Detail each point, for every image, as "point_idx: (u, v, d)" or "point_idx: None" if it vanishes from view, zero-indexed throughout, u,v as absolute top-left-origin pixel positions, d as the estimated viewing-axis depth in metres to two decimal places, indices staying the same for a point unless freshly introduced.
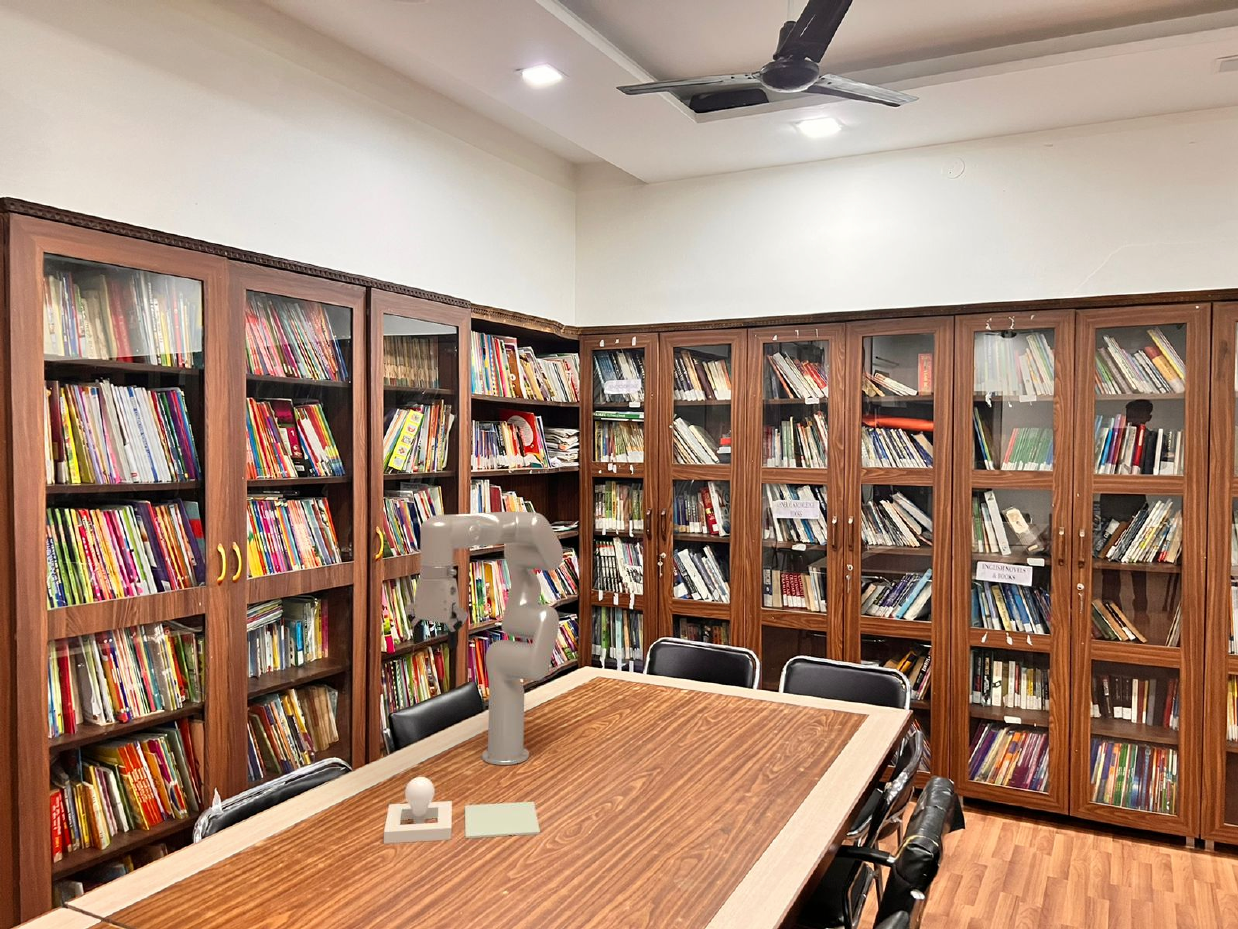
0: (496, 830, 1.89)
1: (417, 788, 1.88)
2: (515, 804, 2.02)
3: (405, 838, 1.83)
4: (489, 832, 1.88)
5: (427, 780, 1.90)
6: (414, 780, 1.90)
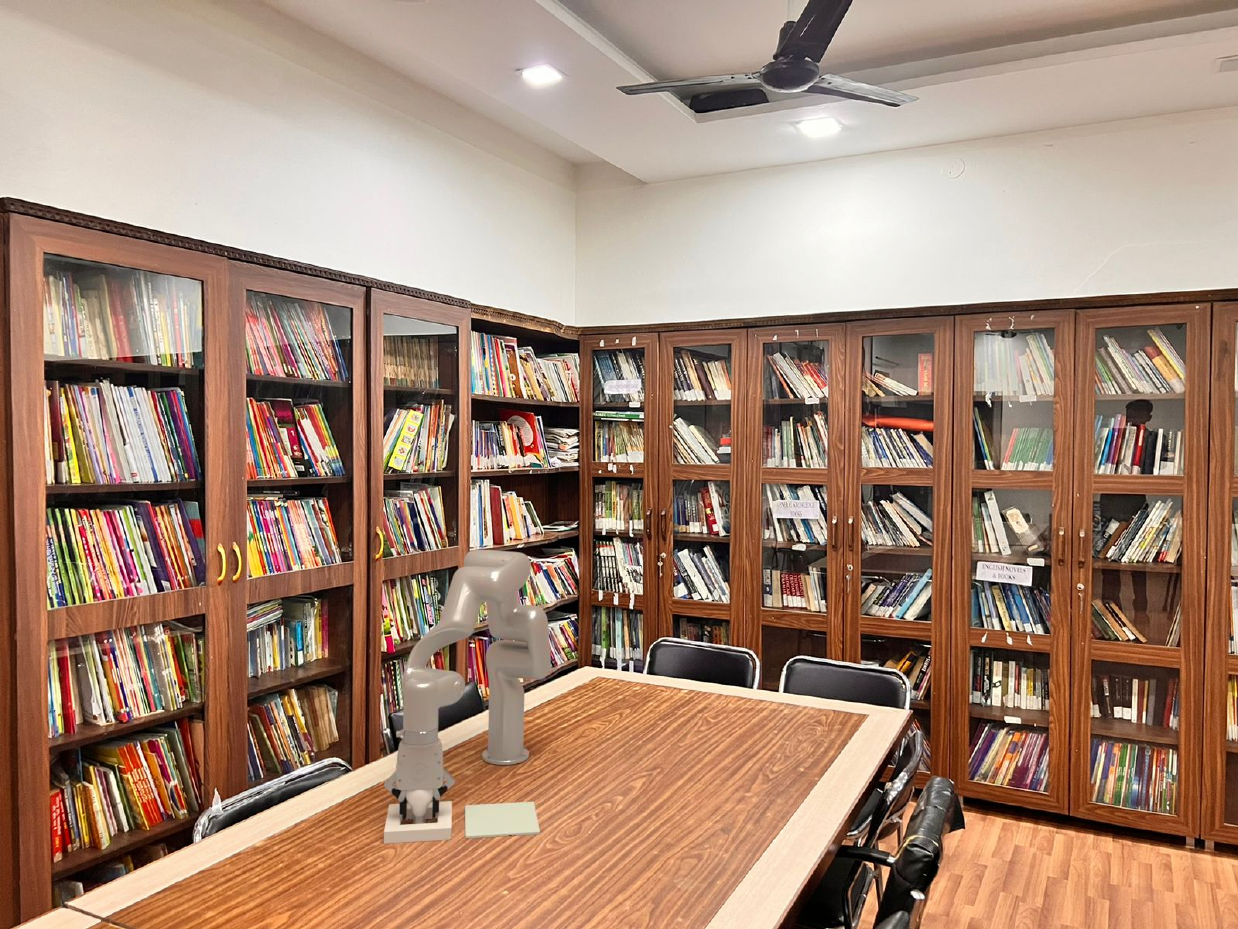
0: (496, 830, 1.89)
1: None
2: (515, 804, 2.02)
3: (405, 838, 1.83)
4: (489, 832, 1.88)
5: None
6: None
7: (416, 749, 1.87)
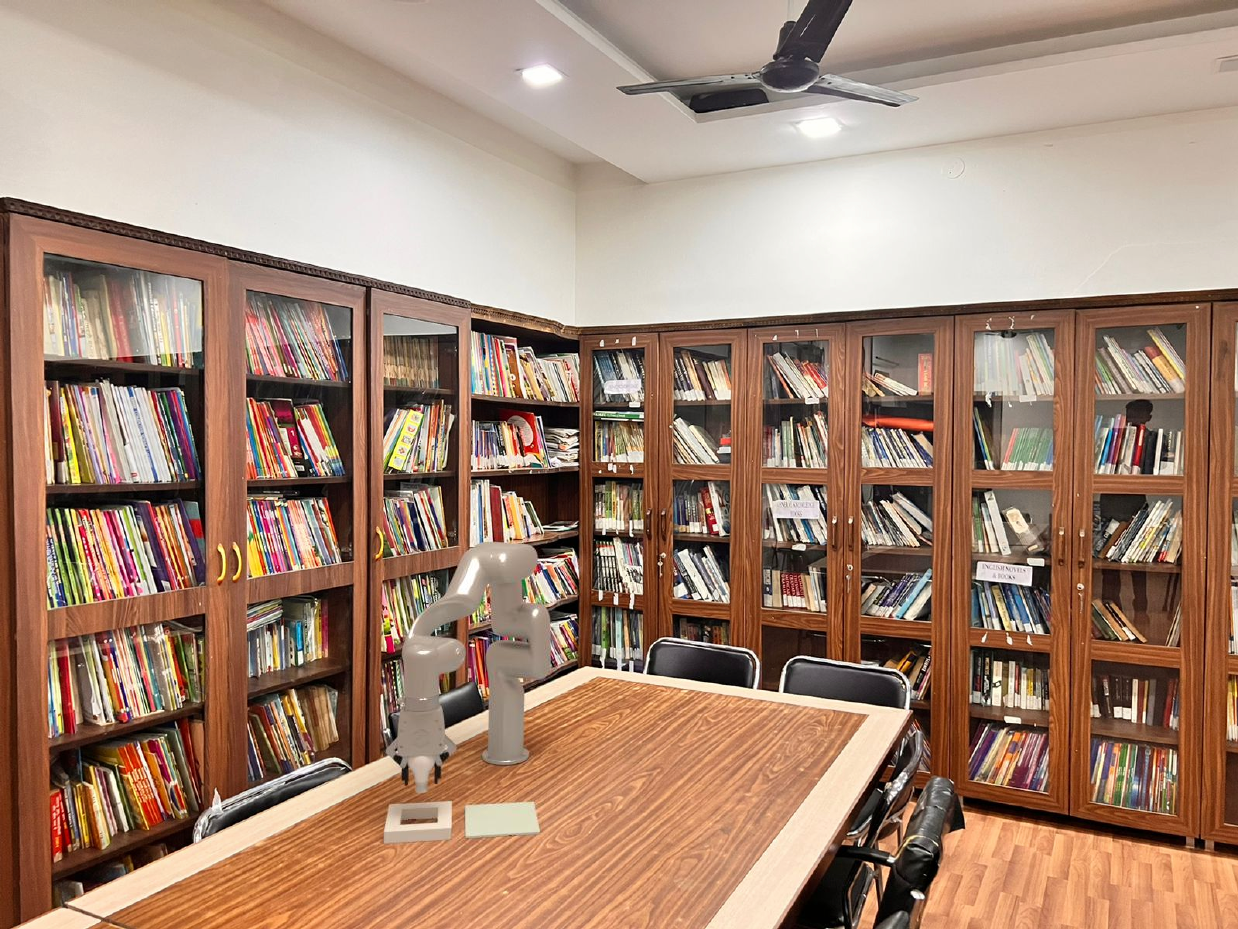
0: (496, 830, 1.89)
1: None
2: (515, 804, 2.02)
3: (405, 838, 1.83)
4: (489, 832, 1.88)
5: None
6: None
7: (417, 716, 1.87)
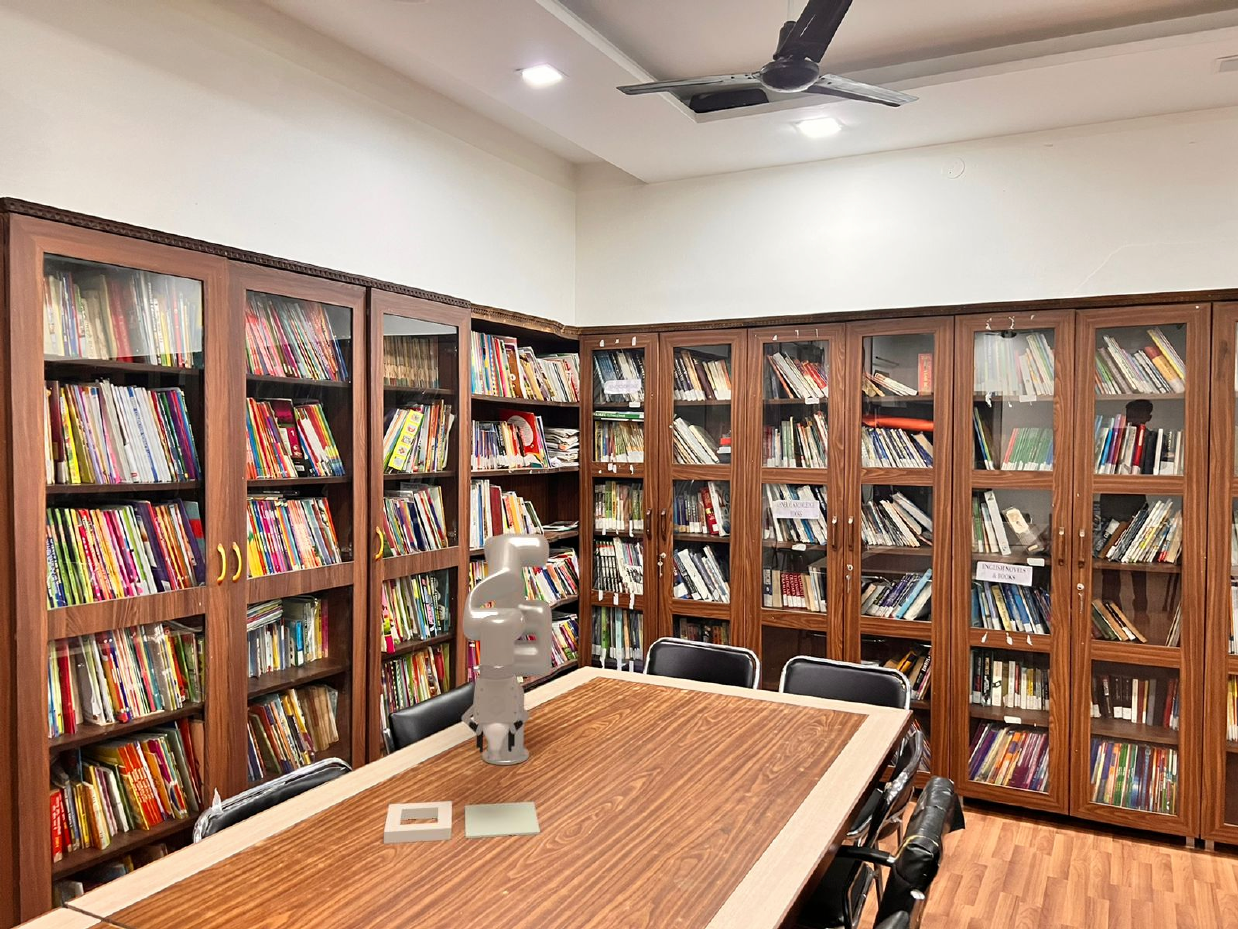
0: (496, 830, 1.89)
1: None
2: (515, 804, 2.02)
3: (405, 838, 1.83)
4: (489, 832, 1.88)
5: None
6: None
7: (493, 683, 1.91)
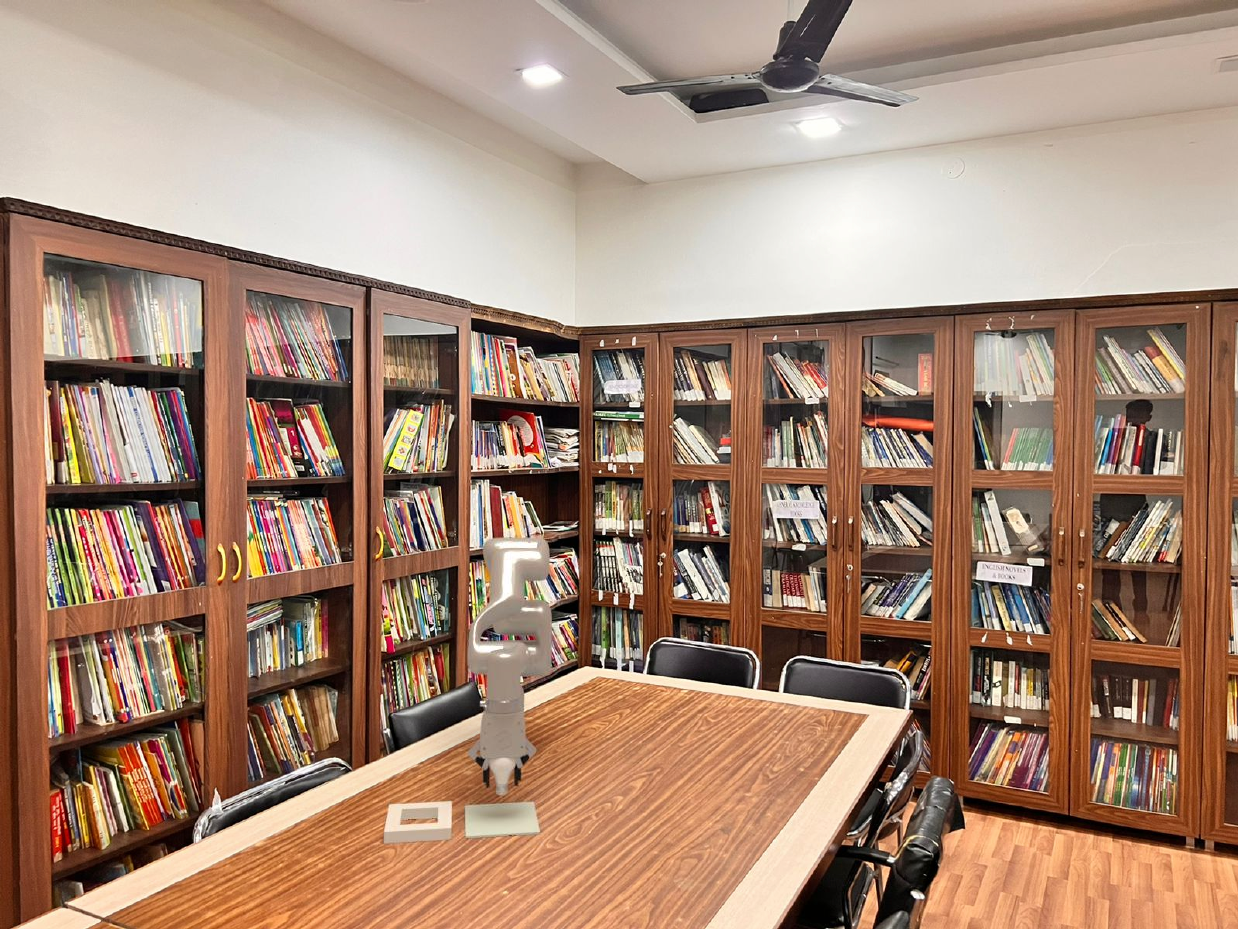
0: (496, 830, 1.89)
1: None
2: (515, 804, 2.02)
3: (405, 838, 1.83)
4: (489, 832, 1.88)
5: None
6: None
7: (500, 718, 1.92)
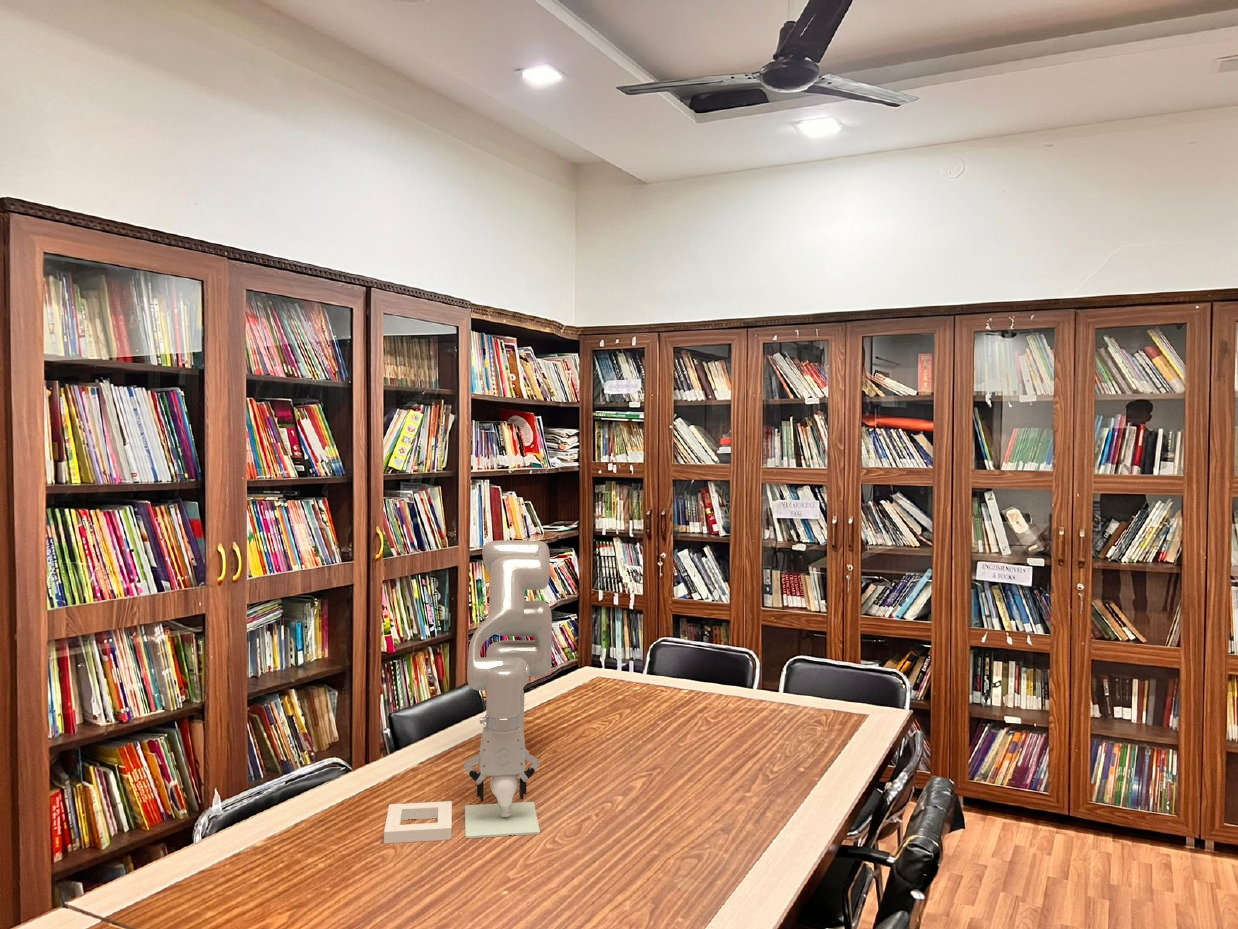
0: (496, 830, 1.89)
1: (502, 779, 1.92)
2: (515, 804, 2.02)
3: (405, 838, 1.83)
4: (489, 832, 1.88)
5: None
6: None
7: (500, 735, 1.92)
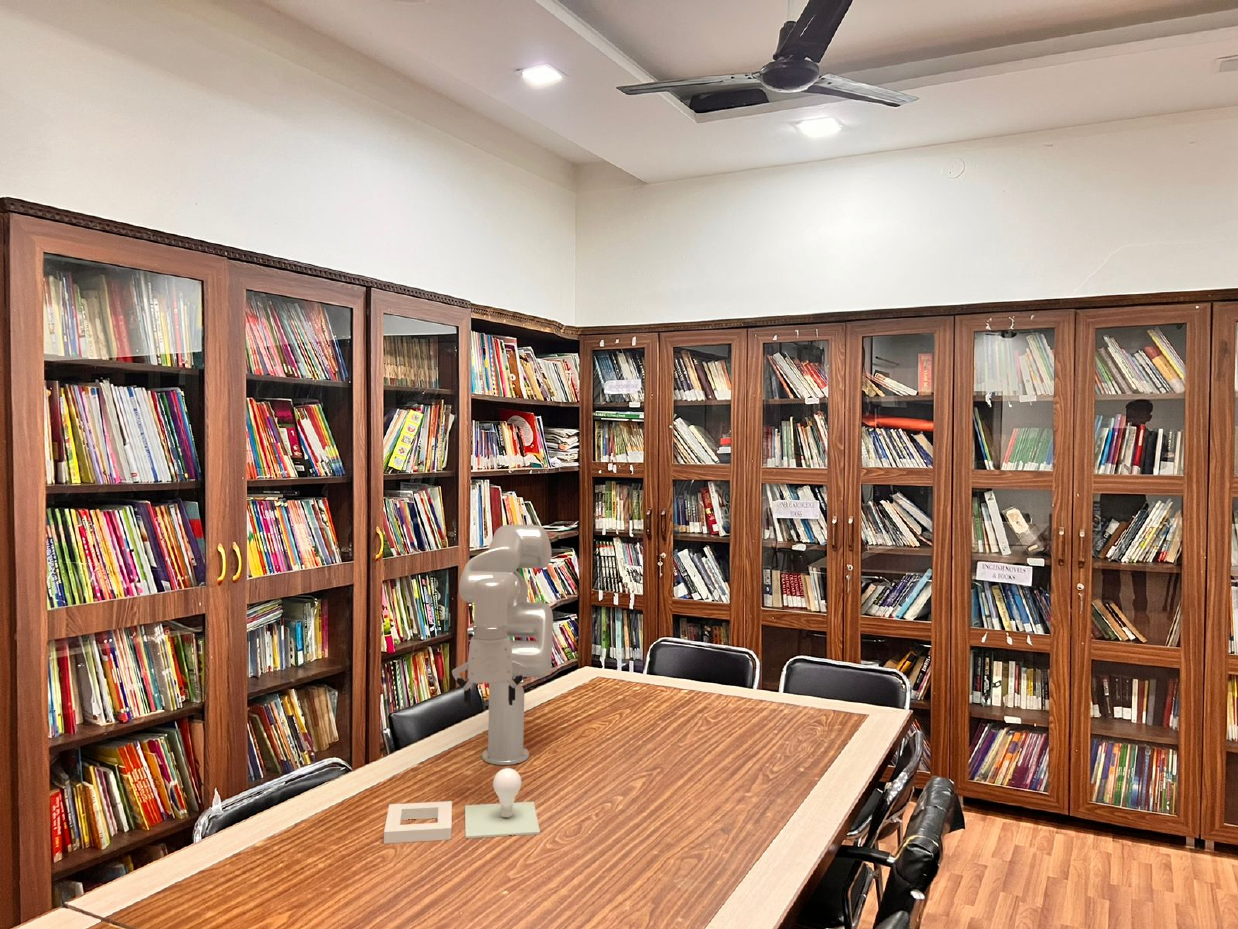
0: (496, 830, 1.89)
1: (505, 779, 1.93)
2: (515, 804, 2.02)
3: (405, 838, 1.83)
4: (489, 832, 1.88)
5: (514, 771, 1.95)
6: (502, 771, 1.94)
7: (487, 644, 1.97)
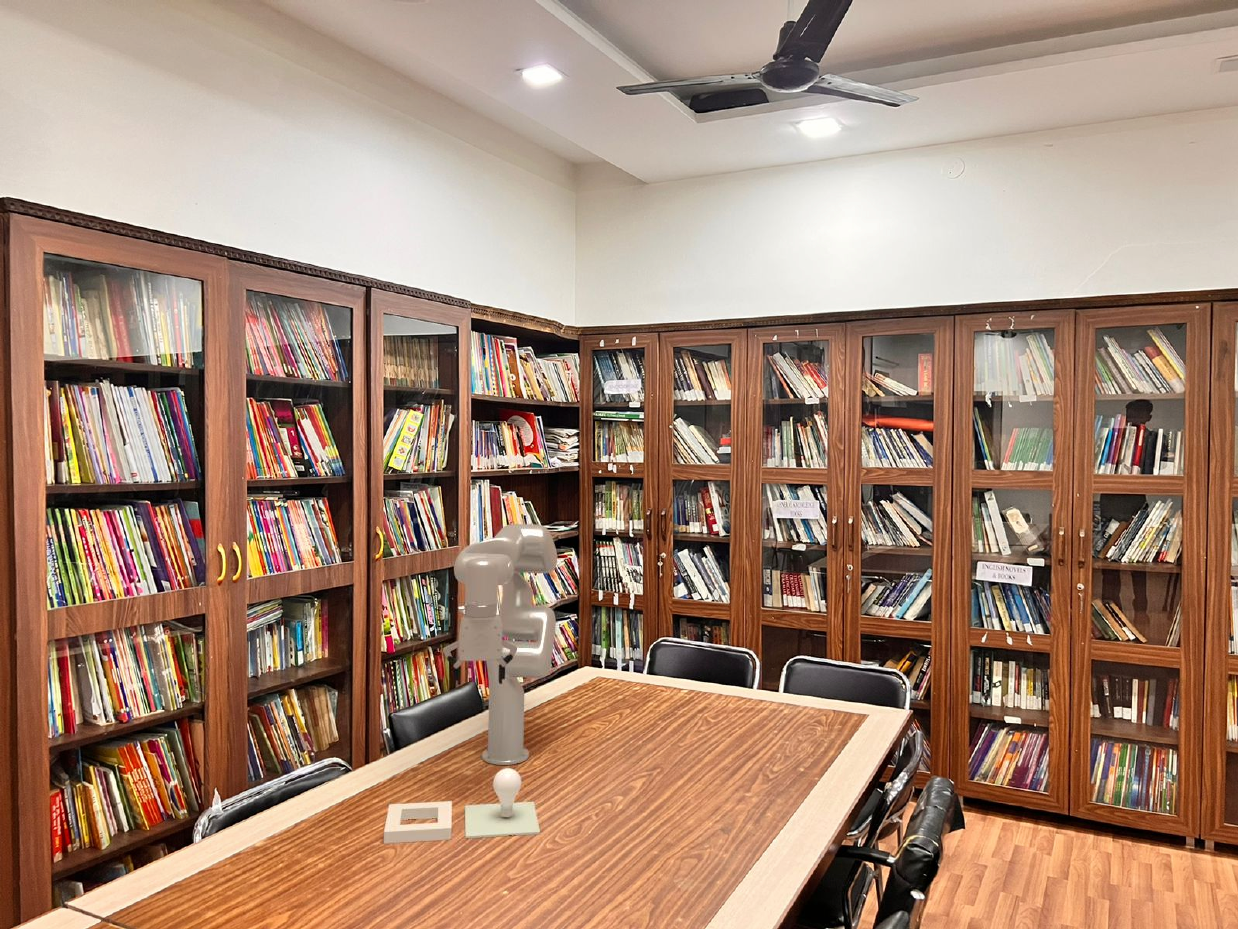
0: (496, 830, 1.89)
1: (505, 779, 1.93)
2: (515, 804, 2.02)
3: (405, 838, 1.83)
4: (489, 832, 1.88)
5: (514, 771, 1.95)
6: (502, 771, 1.94)
7: (478, 622, 2.01)
